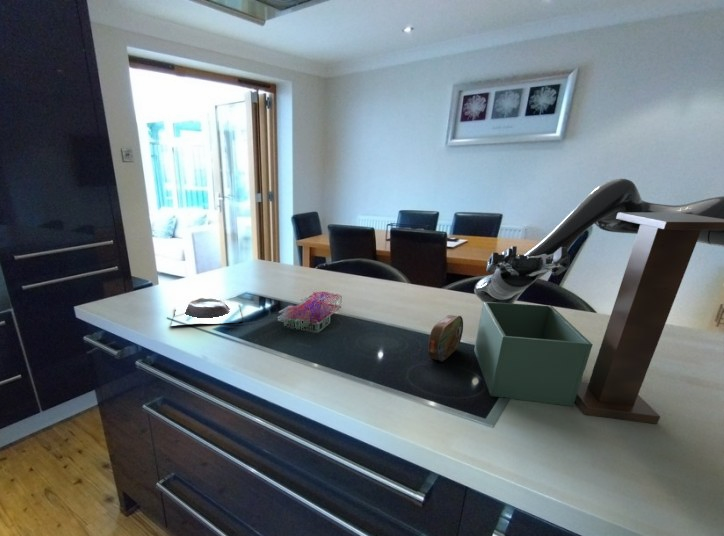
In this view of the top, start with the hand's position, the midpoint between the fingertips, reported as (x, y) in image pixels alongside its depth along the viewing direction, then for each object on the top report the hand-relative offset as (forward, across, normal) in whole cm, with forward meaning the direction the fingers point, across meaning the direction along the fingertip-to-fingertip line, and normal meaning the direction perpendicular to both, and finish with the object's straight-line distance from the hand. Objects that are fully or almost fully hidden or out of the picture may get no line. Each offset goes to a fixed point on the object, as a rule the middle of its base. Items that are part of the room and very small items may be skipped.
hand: (538, 251), depth 74 cm
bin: (-9, 0, +23) cm, 25 cm away
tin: (-15, -14, +20) cm, 28 cm away
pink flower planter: (-32, -49, +10) cm, 59 cm away
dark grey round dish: (-25, -81, +14) cm, 86 cm away
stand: (-2, +12, +27) cm, 30 cm away
